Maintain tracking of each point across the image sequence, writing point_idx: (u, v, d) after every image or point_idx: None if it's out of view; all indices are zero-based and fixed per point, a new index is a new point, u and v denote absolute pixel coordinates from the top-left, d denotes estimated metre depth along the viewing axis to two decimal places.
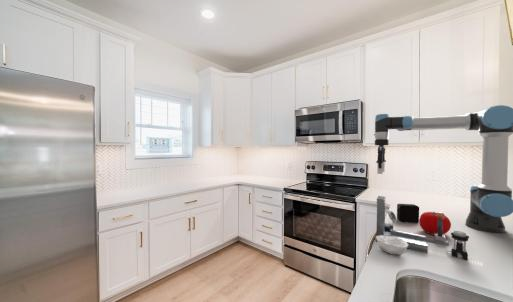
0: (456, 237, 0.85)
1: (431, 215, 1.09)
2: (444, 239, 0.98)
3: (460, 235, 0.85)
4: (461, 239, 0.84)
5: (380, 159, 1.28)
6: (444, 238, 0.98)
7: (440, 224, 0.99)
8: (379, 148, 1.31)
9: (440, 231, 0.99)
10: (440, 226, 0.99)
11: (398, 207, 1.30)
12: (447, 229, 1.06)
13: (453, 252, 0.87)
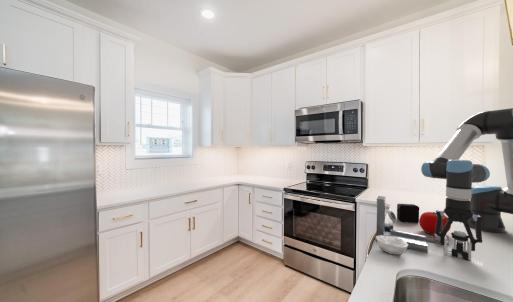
0: (456, 237, 0.85)
1: (431, 215, 1.09)
2: None
3: (460, 235, 0.85)
4: (461, 239, 0.84)
5: (435, 230, 0.91)
6: None
7: None
8: (436, 212, 0.91)
9: (440, 231, 0.99)
10: (440, 226, 0.99)
11: (398, 207, 1.30)
12: None
13: (453, 252, 0.87)
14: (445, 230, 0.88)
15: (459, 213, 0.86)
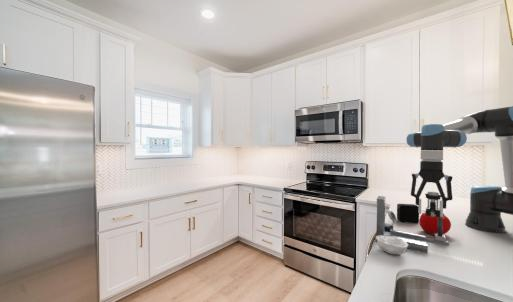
0: (429, 196, 0.91)
1: None
2: (444, 239, 0.98)
3: (433, 194, 0.91)
4: (434, 198, 0.90)
5: (411, 192, 0.96)
6: (444, 238, 0.98)
7: (440, 224, 0.99)
8: None
9: (440, 231, 0.99)
10: (440, 226, 0.99)
11: (398, 207, 1.30)
12: (447, 229, 1.06)
13: (427, 211, 0.93)
14: (419, 191, 0.94)
15: (432, 174, 0.92)
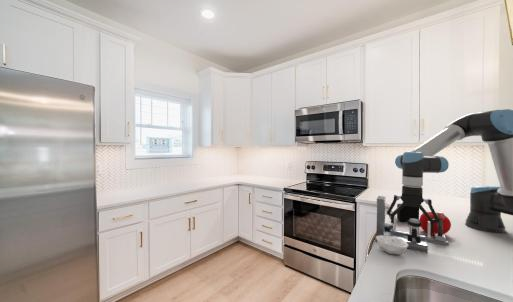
0: (411, 223, 0.96)
1: (431, 215, 1.09)
2: (444, 239, 0.98)
3: (414, 222, 0.96)
4: (415, 225, 0.95)
5: (387, 211, 1.03)
6: (444, 238, 0.98)
7: (440, 224, 0.99)
8: None
9: (440, 231, 0.99)
10: (440, 226, 0.99)
11: None
12: (447, 229, 1.06)
13: (409, 237, 0.97)
14: (396, 211, 1.00)
15: (412, 199, 0.97)
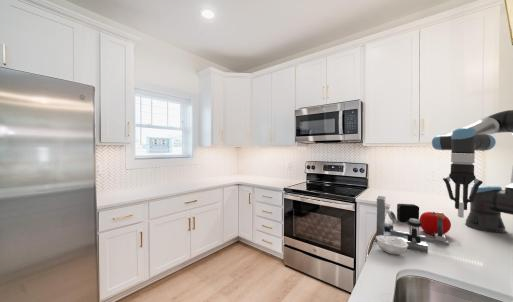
0: (411, 223, 0.96)
1: (431, 215, 1.09)
2: (444, 239, 0.98)
3: (414, 222, 0.96)
4: (415, 225, 0.95)
5: (449, 196, 0.98)
6: (444, 238, 0.98)
7: (440, 224, 0.99)
8: None
9: (440, 231, 0.99)
10: (440, 226, 0.99)
11: (398, 207, 1.30)
12: (447, 229, 1.06)
13: (409, 237, 0.97)
14: (457, 194, 0.95)
15: (463, 176, 0.94)
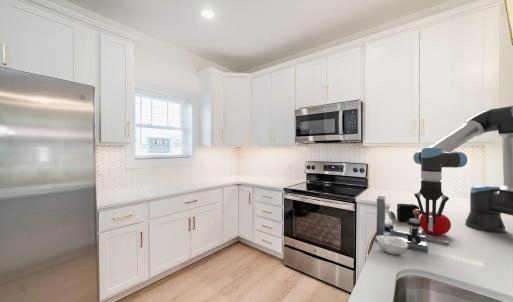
0: (411, 223, 0.96)
1: (431, 215, 1.09)
2: (420, 234, 1.03)
3: (414, 222, 0.96)
4: (415, 225, 0.95)
5: None
6: (420, 234, 1.03)
7: None
8: (415, 196, 1.05)
9: None
10: None
11: (398, 207, 1.30)
12: (447, 229, 1.06)
13: (409, 237, 0.97)
14: (427, 209, 1.01)
15: (432, 192, 1.01)
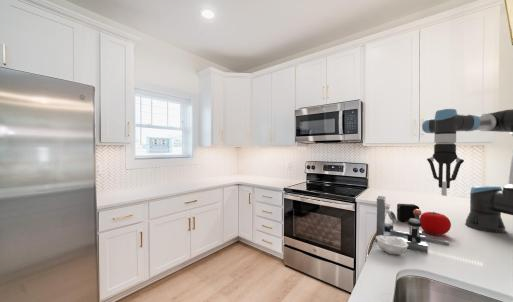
0: (411, 223, 0.96)
1: (431, 215, 1.09)
2: None
3: (414, 222, 0.96)
4: (415, 225, 0.95)
5: (433, 176, 1.01)
6: (420, 234, 1.03)
7: None
8: None
9: None
10: None
11: (398, 207, 1.30)
12: (447, 229, 1.06)
13: (409, 237, 0.97)
14: (440, 173, 0.99)
15: (445, 156, 0.98)
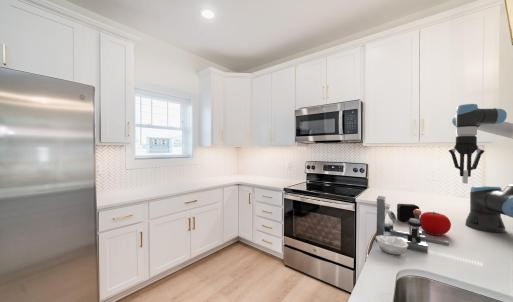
0: (411, 223, 0.96)
1: (431, 215, 1.09)
2: None
3: (414, 222, 0.96)
4: (415, 225, 0.95)
5: (455, 165, 1.10)
6: (420, 234, 1.03)
7: None
8: None
9: None
10: None
11: (398, 207, 1.30)
12: (447, 229, 1.06)
13: (409, 237, 0.97)
14: (462, 163, 1.08)
15: (467, 147, 1.07)
